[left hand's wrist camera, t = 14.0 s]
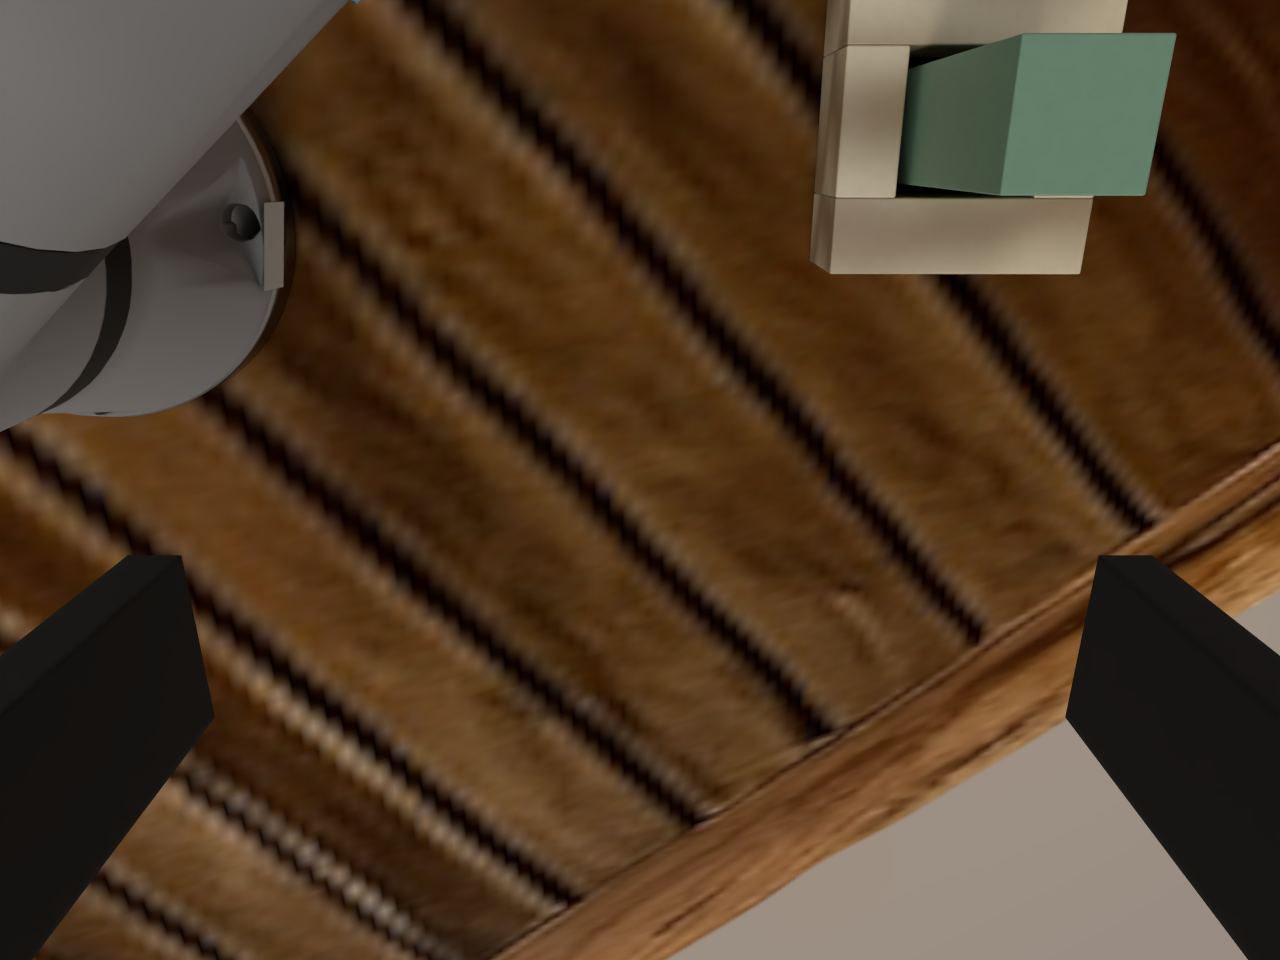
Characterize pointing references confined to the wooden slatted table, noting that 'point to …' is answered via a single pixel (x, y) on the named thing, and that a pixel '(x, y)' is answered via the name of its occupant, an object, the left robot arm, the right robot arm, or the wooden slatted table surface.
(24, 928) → the left robot arm
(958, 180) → the peg
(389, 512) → the wooden slatted table surface
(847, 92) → the peg board
